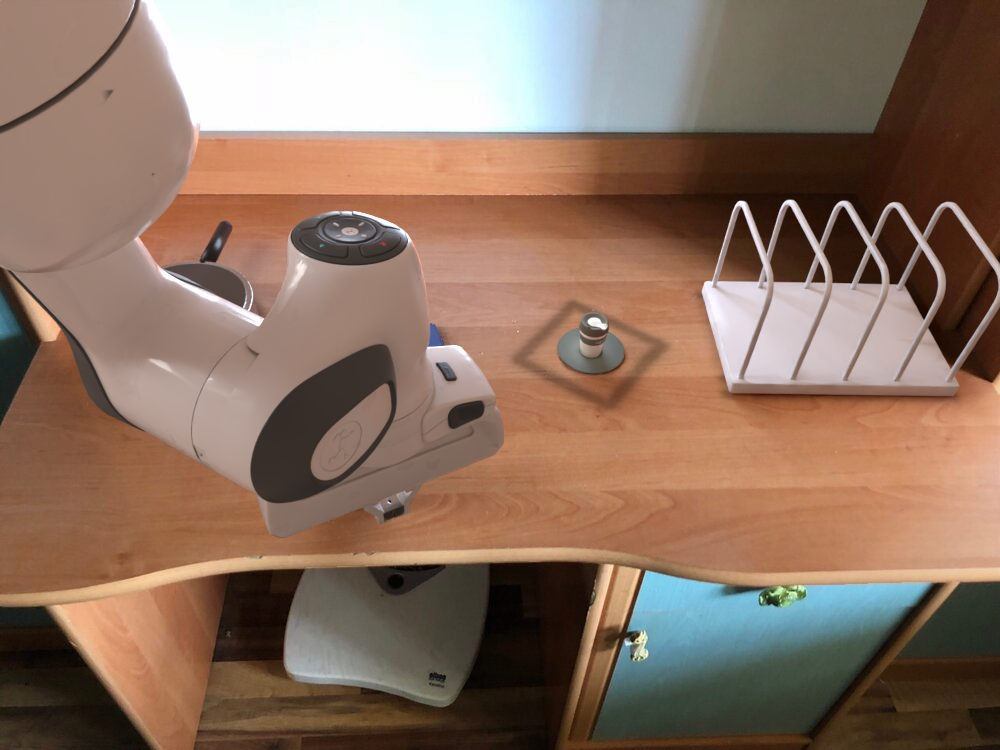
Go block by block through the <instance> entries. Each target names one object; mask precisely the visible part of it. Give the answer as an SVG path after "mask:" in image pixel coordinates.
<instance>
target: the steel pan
mask: <svg viewBox="0 0 1000 750" xmlns="http://www.w3.org/2000/svg"><path fill="white" fill-rule="evenodd" d="M232 232H233V225H232V223H231V222H230V221H228V220H222V221H220V222H219V223H218V225H217V227H216V228H215V231H214V232H213V234H212V236H211V238H210V240H209V241H208V243H207V245H206V247H205V248H204V251H203V253H202V254H201V256H200V258H199V260H198V261H197V260H192V261H191V260H190V261H181V262H176V263H171V264H166V265H163V266H159V267H160V268H162V269H164V270H167V271H170V272H173V273H176V274H179V275H181V276H183V277H186V278H188V279H189V280H191V281H193V282H195V283H197V284H199V285H201V286H202V287H204V288H206V289H208V290H210V291H212V292H213V293H215V294H216V295H217V296H219V297H221V298H223V299H225V300H227V301H229V302H231V303H233V304H235V305H237V306H240V307H242V308H244V309H246V310H248V311H250V312H252V313H254V314H256V315H258V316H260V314H259V310H258V306H257V303H256V299H255V296H254V290H253V289H252V285H251V283H250V281H249V280H248V279H247V278H246V276H245V275H244V274H242V273H241V272H240V271H238V269H237V270H236V269H235V268H233V267H231V266H228V265H226V264H222V263H219V262H217V261H218V259H219V258H220V256H221V254H222V251H223V250H224V248H225V245H226V244H227V241H228V240H229V238H230V236H231V234H232Z"/></svg>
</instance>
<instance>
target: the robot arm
mask: <svg viewBox="0 0 1000 750" xmlns="http://www.w3.org/2000/svg"><path fill="white" fill-rule="evenodd" d="M200 118H201V117H200V113H199V108H198V103H197V100H196V96H195V93H194V89H193V85H192V83H191V78H190V76H189V74H188V71H187V68H186V65H185V61H184V60H183V57H182V54H181V52H180V51H179V48H178V45H177V44H176V42H175V40H174V37H173V35H172V33H171V31H170V29H169V27H168V26H167V24H166V22H165V19H164V18H163V16H162V14H161V12H160V10H159V9H158V7H157V5H156V3H155V2H154V0H0V268H2V269H4V270H5V271H6V272H7V273H8V275H10V276H11V277H12V278H13V280H14V281H16V282H17V283H18V284H19V285H20V287H21V288H22V289H23V290H24V291H25V292H26V293H27V294H28V295H29V296H30V297H31V298H32V299H33V300H34V301H35V302H36V303H37V304H38V305H39V306H40V307H41V309H42V310H44V312H45V313H46V314H48V315H49V317H50V318H51V319H52V320H53V321H54V322H55V324H57V326H58V327H59V328H60V330H61V331H62V333H63V334H64V336H65V338H66V340H67V342H68V345H69V347H70V349H71V352H72V355H73V358H74V361H75V364H76V368H77V370H78V373H79V376H80V380H81V383H82V385H83V387H84V389H85V391H86V393H87V395H88V397H89V398H90V400H91V401H92V402H93V403H94V405H95V406H96V407H97V408H98V409H99V410H100V411H102V412H103V413H105V414H106V415H108V416H110V417H111V418H114V419H116V420H118V421H120V422H122V423H125V425H129V426H130V427H133V428H135V429H137V430H139V431H141V432H144V433H147V434H149V435H150V436H152V437H154V438H156V439H157V440H159V441H160V442H162V443H164V444H165V445H168V447H171V448H173V449H174V450H175V451H177V452H180V453H181V454H183V455H185V456H186V457H188V458H190V459H192V460H193V461H195V462H197V463H199V464H200V465H202V466H203V467H205V468H207V469H209V470H211V471H212V472H215V473H217V474H218V475H219V476H222V477H223V478H225V479H226V480H228V481H230V482H231V483H233V484H235V485H237V486H239V487H241V488H243V489H244V490H246V491H247V492H249V493H251V494H253V495H255V496H256V500H257V503H258V507H259V510H260V513H261V516H262V518H263V522H264V524H265V527H266V529H267V532H268V535H270V536H272V537H276V538H278V539H287V538H290V537H292V536H294V535H297V534H299V533H301V532H304V531H307V530H310V529H312V528H314V527H317V526H319V525H322V524H324V523H325V524H326V523H327V522H330V521H332V520H335V519H337V518H340V517H342V516H345V515H347V514H349V513H352V512H355V511H357V510H360V509H363V511H364V512H367V513H369V514H370V515H373V516H374V519H375V521H376V523H377V524H378V526H381V525H383V524H385V523H388V522H390V521H392V520H395V519H398V518H400V517H404V516H405V515H409V514H411V504H410V503H411V502H412V501H413V500H414V498H415V497H416V495H417V494H418V492H419V491H420V490H421V487H422V486H421V485H422V484H426V483H428V482H431V481H433V480H435V479H439V478H441V477H443V476H446V475H448V474H451V473H453V472H455V471H458V470H460V469H463V468H465V467H468V466H470V465H473V464H476V463H478V462H481V461H483V460H485V459H488V458H490V457H494V456H495V455H496V454H497V453H498V452H499V451H500V449H501V448H502V447H503V445H504V443H505V429H504V420H503V416H502V413H501V412H500V410H499V408H498V407H497V396H496V394H495V392H494V390H493V388H492V387H491V384H490V382H489V381H488V379H487V378H486V376H485V374H484V373H483V371H482V369H481V368H480V367H479V366H478V364H477V363H476V362H475V361H474V359H473V358H472V357H471V356H470V354H469V353H468V352H467V351H466V350H465V349H464V348H463V347H462V346H460V345H454V344H453V345H444V346H440V347H428V345H429V339H430V323H431V322H430V310H429V299H428V294H427V286H426V279H425V275H424V270H423V266H422V261H421V259H420V255H419V253H418V250H417V248H416V246H415V244H414V242H413V240H412V239H411V237H410V236H409V234H408V233H407V232H406V231H405V230H404V229H403V228H401V227H399V226H398V225H397V224H395V223H393V222H390V221H388V220H385V219H383V218H381V217H377V216H374V215H372V214H368V213H364V212H360V211H355V210H353V211H346V210H345V211H344V210H343V211H342V210H341V211H337V210H334V211H327V212H323V213H319V214H315V215H312V216H310V217H306V218H305V219H303V220H301V221H300V222H298V223H297V224H295V226H293V228H292V229H291V231H290V232H289V234H288V237H287V243H286V272H285V274H284V275H285V276H284V278H283V281H282V284H281V287H280V289H279V292H278V294H277V296H276V298H275V300H274V302H273V304H272V306H271V307H270V309H269V311H268V312H267V314H266V316H265V317H263V316H260V315H259V316H258V315H256V314H254V313H252V312H250V311H248V310H246V309H244V308H242V307H240V306H237V305H235V304H233V303H231V302H229V301H227V300H225V299H223V298H221V297H219V296H217V295H216V294H215V293H213V292H212V291H210V290H208V289H206V288H204V287H202V286H201V285H199V284H197V283H195V282H193V281H191V280H189V279H188V278H186V277H183V276H181V275H179V274H176V273H173V272H170V271H167V270H164V269H162V268H160V267H161V266H159V265H158V263H157V262H156V261H155V259H154V258H153V256H152V255H151V253H150V251H149V250H148V248H147V247H146V246H145V244H144V243H143V240H141V238H140V236H142V234H144V233H145V232H146V231H147V230H149V228H150V227H152V226H153V225H154V224H155V223H156V222H157V221H158V220H159V219H160V218H161V216H163V214H165V212H166V211H168V209H169V208H170V207H171V205H172V204H173V203H174V201H175V199H176V198H177V197H178V195H179V194H180V193H181V190H182V188H183V186H184V184H185V182H186V180H187V178H188V176H189V174H190V171H191V169H192V167H193V162H194V158H195V155H196V152H197V148H198V143H199V137H200V132H201V119H200Z"/></svg>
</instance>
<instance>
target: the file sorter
mask: <svg viewBox="0 0 1000 750" xmlns="http://www.w3.org/2000/svg"><path fill="white" fill-rule="evenodd" d="M789 207H791V210H792V212H793V213H794V216H795V217H796V219H797V220H798V223H799V224H800V227H801V229H802V230H803V232H804V234H805V236H806V238H807V240H808V242H809V244H810V245H811V247H812V249H813V252H814V253H815V255H814V259H813V261H812V264H811V267H810V269H809V271H808V273H807V277H806V280H805V282H800V281H799V282H797V281H796V282H795V281H794V282H791V281H774V280H775V279H774V272H773V269H772V266H771V265H772V264H771V260H772V256H773V254H774V251H775V248H776V243H777V240H778V238H779V233H780V231H781V228H782V224H783V221H784V218H785V215H786V213H787V210H788V208H789ZM842 208H845V210H846V211H847V213H848V215H849V217H850V218H851V221H852V222H853V223H854V226H855V228H856V229H857V231H858V232H859V234H860V236H861V237H862V239H863V241H864V243H865V244H866V246H867V248H866V249H865V252H864V254H863V257H862V259H861V261H860V264H859V266H858V268H857V271H856V272H855V275H854V278H853V280H852V283H842V282H833V273H832V268H831V264H830V263H829V260H828V259H827V257H826V255H825V253H824V250H825V247H826V245H827V243H828V240H829V237H830V235H831V233H832V230H833V227H834V225H835V222H836V221H837V218H838V215H839V213H840V211H841V209H842ZM947 208H949V209H951V210H952V212H953V213H954V215H956V217H957V219H958V220H959V222H960V223H961V224H962V226H963V227H964V229H965V230H966V232H967V233H968V234H969V236H970V237H971V238H972V240H973V241H974V243H975V244H976V246H977V247H978V249H979V250H980V251H981V253H982V255H983V256H984V257H985V259H986V260H987V262H988V263H989V265H990V266H991V267H992V269H993V270H994V272H995V274H996V277H997V282H998V290H997V294H996V297H995V298H994V300H993V303H992V304H991V305H990V308H989V309H988V311H987V313H985V316H984V317H983V319H982V321H981V322H980V324H979V325H978V327H977V328H976V329H975V331H974V333H973V334H972V336H971V337H970V339H969V340H968V342H967V343H966V345H965V347H964V348H963V350H962V352H961V353H960V354H959V356H958V357H957V359H956V360H955V363H954V364H953V365H952V367H950V365H949V363H948V361H947V360H946V357H944V355H943V352H942V351H941V349H940V347H939V345H938V343H937V342H936V340H935V338H934V336H933V334H932V332H931V330H930V329H929V326H930V325H931V323H932V322H933V320H934V317H935V315H936V313H938V310H939V308H940V306H941V304H942V302H943V300H944V297H945V293H946V289H947V287H946V285H947V280H946V279H947V278H946V272H945V270H944V267H943V265H942V264H941V262H940V261H939V258H938V257H937V256H936V253H934V251H933V250H932V248H931V246H930V245H929V244H928V242H927V241H928V240H929V238H930V235H931V234H932V232H933V229H934V228H935V226H936V224H937V222H938V220H939V218H940V216H941V215H942V213H943V212H944V210H946V209H947ZM741 209H742V212H743V214H744V216H745V219H746V222H747V225H748V228H749V231H750V233H751V236H752V239H753V241H754V244H755V246H756V249H757V252H758V254H759V258H760V260H761V263H762V269H761V271H760V275H759V279H758V281H737V280H736V281H734V280H733V281H732V280H731V281H730V280H729V281H728V280H727V281H725V280H723V281H722V280H721V281H719V278H720V275H721V272H722V269H723V265H724V263H725V258H726V256H727V252H728V249H729V245H730V242H731V238H732V235H733V232H734V229H735V226H736V222H737V218H738V216H739V212H740V210H741ZM893 209H896V210H897V212H898V213H899V215H900V216H901V218H902V219H903V221H904V223H905V224H906V226H907V227H908V229H909V231H910V232H911V234H912V235H913V237H914V238H915V240H916V241H917V243H918V244H917V245H916V248H915V250H914V252H913V254H912V256H911V257H910V259H909V262H908V263H907V265H906V268H905V270H904V271H903V273H902V276H901V278H900V280H899V282H898V283H897V284H896V283H895V284H892V283H890V273H889V268H888V265H887V263H886V261H885V259H884V257H883V256H882V254H881V252H880V250H879V249H878V247H877V246H876V243H877V241H878V239H879V236H880V234H881V231H882V229H883V227H884V225H885V223H886V220H887V218H888V216H889V214H890V212H891V211H892V210H893ZM775 221H776V222H775V225H774V229H773V231H772V235H771V238H770V241H769V246H768V249H767V252H766V248H765V246H764V244H763V241H762V237H761V236H760V233H759V231H758V227H757V225H756V222H755V220H754V217H753V214H752V212H751V210H750V206H749V204H748V202H747V201H745V200H739V201H737V202H736V204H735V205H734V208H733V210H732V212H731V215H730V219H729V223H728V226H727V230H726V233H725V236H724V240H723V243H722V246H721V250H720V253H719V257H718V261H717V264H716V268H715V270H714V274H713V278H712V280H706V281H704V283H703V286H702V290H701V295H702V298H703V303H704V306H705V309H706V314H707V316H708V321H709V323H710V328H711V331H712V334H713V338H714V342H715V346H716V349H717V353H718V356H719V360H720V364H721V368H722V371H723V375H724V379H725V382H726V386H727V390H728V392H729V393H731V394H767V395H768V394H772V395H775V394H776V395H782V394H783V395H789V394H790V395H833V396H834V395H835V396H836V395H839V396H841V395H842V396H904V397H905V396H906V397H907V396H913V397H915V396H916V397H917V396H918V397H919V396H920V397H954V396H955V394H956V392H957V391H958V389H959V387H960V384H959V382H958V380H957V378H956V375H957V373H958V372H959V371H960V369H961V368H962V366H963V364H964V363H965V362H966V360H967V358H968V357H969V355H970V353H971V352H972V351H973V349H974V348H975V346H976V344H977V343H978V341H979V340H980V338H981V337H982V335H983V334H984V332H985V331H986V330H987V328H988V326H990V325H989V324H990V323H991V322H992V320H993V318H994V317H995V315H996V314H997V312H998V310H999V309H1000V262H999V261H998V259H997V258H996V256H995V254H994V253H993V252H992V251H991V249H990V248H989V246H988V245H987V243H986V242H985V241H984V239H983V237H981V235H980V234H979V233H978V231H977V229H976V228H975V226H974V225H973V224H972V222H971V221H970V220H969V218H968V217H967V215H966V214H965V213H964V211H963V210H962V209H961V208H960V206H959V205H958V204H957V203H956V202H953V201H945V202H943V203H941V204H940V205H938V207H936V209H935V211H934V213H933V215H932V217H931V218H930V221H929V222H928V224H927V226H926V228H925V230H924V232H923V233H922V232H921V231H920V230H919V228H918V226H917V225H916V223H915V222H914V220H913V219H912V217H911V215H910V214H909V212H908V211H907V209H906V208H905V206H904V205H903V204H902V203H900V202H897V201H896V202H895V201H893V202H890V203H888V204H887V205H886V206H885V208H884V209H883V211H882V213H881V215H880V217H879V220H878V222H877V224H876V226H875V228H874V231H873V234H872V235H870V233H869V231H868V230H867V228H866V226H865V225H864V223H863V221H862V220H861V218H860V216H859V214H858V212H857V211H856V209H855V208H854V206H853V204H852V203H851V202H849V200H841V201H839V202H838V203H836V205H835V206H834V207H833V210H832V212H831V214H830V216H829V219H828V221H827V224H826V227H825V229H824V232H823V235H822V238H821V239H820V242H819V241H818V240H817V238H816V236H815V234H814V232H813V230H812V229H811V226H810V225H809V223H808V221H807V219H806V217H805V215H804V214H803V212H802V209H801V208H800V206H799V204H798V203H797V202H796V201H795V200H794V199H786V200H785V201H784V202H783V203H782V205H781V207H780V209H779V212H778V215H777V218H776V220H775ZM922 252H924V254H925V256H926V258H927V259H928V261H929V263H930V264H931V266H932V267H933V269H934V272H935V273H936V277H937V291H936V295H935V298H934V301H933V302H932V304H931V306H930V308H929V310H928V312H927V314H926V316H925V318H923V316H922V314H921V313H920V311H919V309H918V307H917V305H916V303H915V301H914V299H913V298H912V296H911V294H910V292H909V291H908V289H907V287H906V285H905V284H906V283H907V280H908V278H909V277H910V275H911V273H912V270H913V269H914V267H915V265H916V263H917V261H918V258H919V257H920V255H921V253H922ZM871 255H872V257H873V259H874V260H875V261H874V262H875V263H876V264H877V266H878V269H879V270H880V275H881V283H859V281H860V279H861V277H862V275H863V273H864V271H865V267H866V266H867V263H868V261H869V259H870V257H871ZM819 263H820V266H821V267H822V270H823V273H824V277H825V278H824V280H825V282H812V281H813V279H814V275H815V273H816V271H817V268H818V266H819ZM765 280H766V281H765Z"/></svg>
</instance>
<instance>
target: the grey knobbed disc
mask: <svg viewBox="0 0 1000 750" xmlns="http://www.w3.org/2000/svg"><path fill="white" fill-rule="evenodd" d="M609 322H610V321H609V319H608V317H607V316H606V315H604V314H602V313H600V312H595V311H594V312H593V311H591V312H590V311H589V312H587V313H584V314H583V315H582V316H581V318H580V320H579V324H578V327H576V328H573V329H570V330H568V331H567V332H565V333H564V334H563V335H562V336H561V337H560V339H559V341H558V343H557V353H558V356H559V358H560V359H561V361H562V362H563V363H565V365H567V366H568V367H569V368H571V369H573V370H575V371H576V372H579V373H582V374H586V375H600V374H605V373H609V372H611V371H613V370H615V369H616V368H618V367H619V365H621V364H622V362H623V360H624V358H625V348H624V345H623V343H622V341H621V340H620V338H618V337H617V336H616V335H615V334H613V333H612V332H610V331H609V330H610V323H609Z"/></svg>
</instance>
